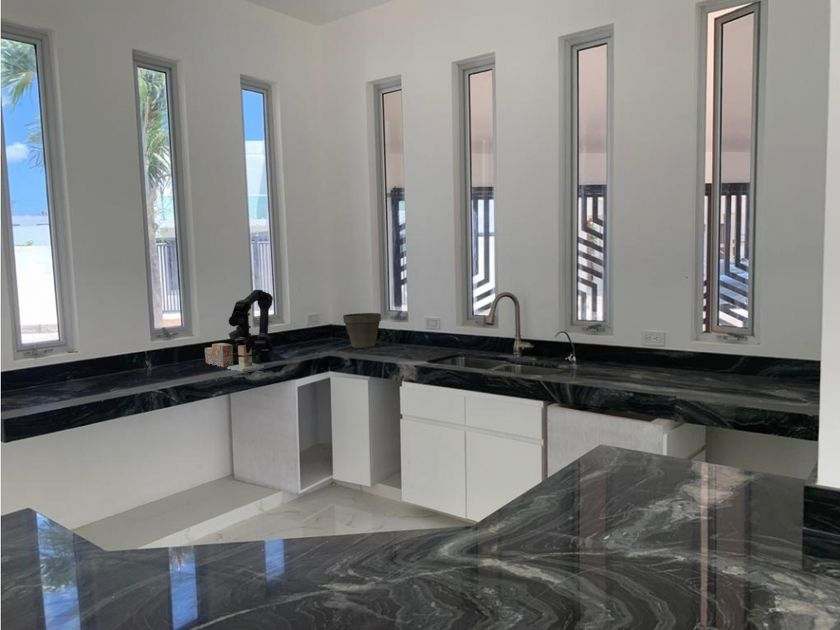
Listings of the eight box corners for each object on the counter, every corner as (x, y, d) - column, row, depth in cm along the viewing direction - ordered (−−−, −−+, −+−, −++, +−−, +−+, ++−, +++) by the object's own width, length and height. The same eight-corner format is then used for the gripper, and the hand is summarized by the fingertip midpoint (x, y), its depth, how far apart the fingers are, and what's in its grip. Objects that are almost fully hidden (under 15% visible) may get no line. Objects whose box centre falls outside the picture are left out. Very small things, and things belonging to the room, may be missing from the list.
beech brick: (246, 364, 369) (246, 355, 368) (252, 365, 365) (251, 356, 365) (239, 366, 365) (238, 357, 364) (244, 366, 362) (243, 357, 361)
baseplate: (249, 365, 375) (249, 362, 375) (264, 367, 366) (264, 365, 366) (227, 369, 365) (227, 366, 364) (242, 371, 355) (242, 368, 355)
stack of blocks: (205, 363, 387) (204, 342, 386) (215, 362, 391) (214, 341, 390) (223, 367, 372) (222, 345, 371) (233, 366, 376) (232, 344, 375)
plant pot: (344, 345, 450) (343, 313, 448) (381, 343, 453) (379, 311, 451) (344, 350, 425) (343, 316, 423) (382, 348, 428) (381, 315, 426)
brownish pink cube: (246, 353, 368) (245, 344, 368) (251, 354, 365) (251, 345, 364) (238, 354, 364) (238, 345, 364) (243, 355, 361) (243, 346, 361)
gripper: (220, 325, 363) (222, 353, 365) (240, 326, 351) (242, 356, 352) (238, 323, 372) (240, 350, 373) (258, 324, 359) (259, 353, 361)
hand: (245, 352), depth 365 cm, fingers closed on brownish pink cube, 5 cm apart
